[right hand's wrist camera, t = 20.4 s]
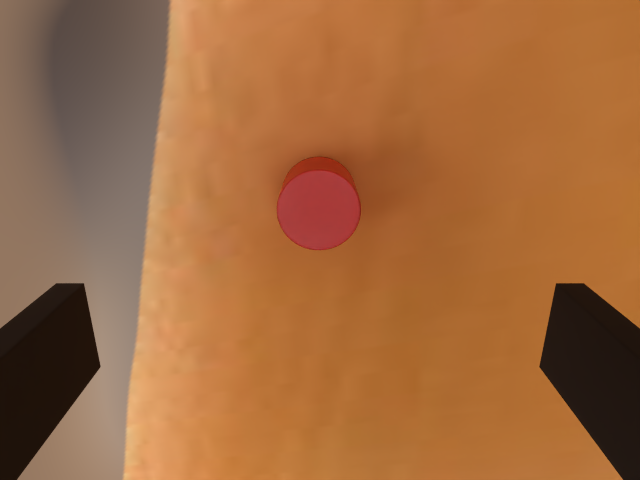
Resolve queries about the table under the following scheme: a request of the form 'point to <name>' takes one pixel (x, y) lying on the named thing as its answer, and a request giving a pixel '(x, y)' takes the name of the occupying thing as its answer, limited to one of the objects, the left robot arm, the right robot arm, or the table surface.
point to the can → (318, 204)
